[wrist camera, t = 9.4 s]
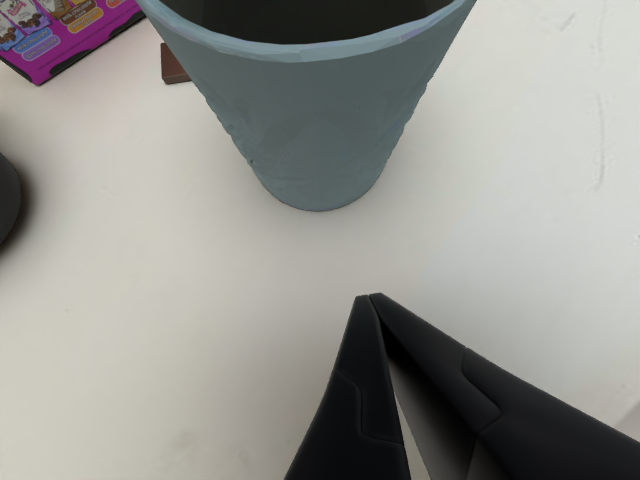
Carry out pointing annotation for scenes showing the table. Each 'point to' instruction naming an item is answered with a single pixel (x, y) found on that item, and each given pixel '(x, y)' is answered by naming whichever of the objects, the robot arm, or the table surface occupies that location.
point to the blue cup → (311, 82)
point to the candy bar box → (58, 32)
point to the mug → (8, 197)
